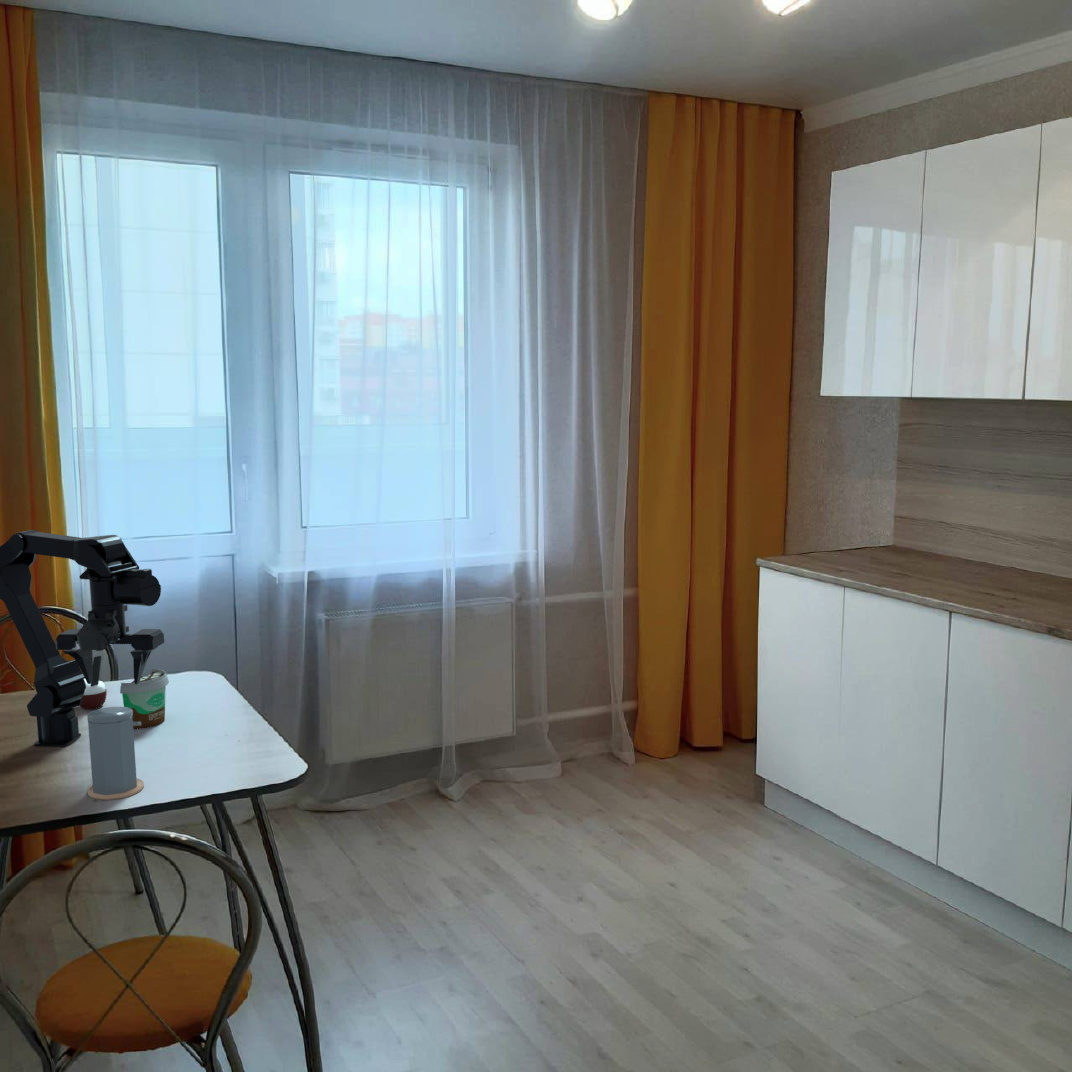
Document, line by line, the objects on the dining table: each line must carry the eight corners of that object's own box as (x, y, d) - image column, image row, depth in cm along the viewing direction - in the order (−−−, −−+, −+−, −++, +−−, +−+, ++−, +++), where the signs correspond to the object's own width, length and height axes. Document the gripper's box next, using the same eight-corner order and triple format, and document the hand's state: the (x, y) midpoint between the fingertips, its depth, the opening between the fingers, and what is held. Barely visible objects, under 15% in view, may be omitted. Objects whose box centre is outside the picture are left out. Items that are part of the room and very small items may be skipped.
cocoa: (76, 705, 234) (70, 652, 232) (107, 700, 236) (101, 647, 235) (77, 715, 225) (71, 660, 224) (109, 710, 228) (103, 655, 226)
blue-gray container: (83, 791, 182) (77, 716, 180) (114, 776, 188) (110, 704, 187) (115, 797, 179) (110, 721, 177) (146, 782, 186) (141, 709, 184)
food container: (150, 733, 213) (147, 685, 212) (122, 731, 215) (119, 683, 213) (182, 714, 225) (179, 668, 224) (156, 713, 227) (153, 667, 225)
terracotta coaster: (78, 799, 180) (77, 796, 180) (103, 779, 189) (102, 776, 188) (129, 800, 179) (129, 797, 179) (152, 780, 188) (152, 777, 188)
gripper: (36, 612, 193) (43, 695, 195) (136, 612, 191) (142, 696, 194) (67, 599, 204) (74, 678, 206) (162, 599, 202) (168, 679, 205)
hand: (113, 683), depth 202 cm, fingers open, 9 cm apart
